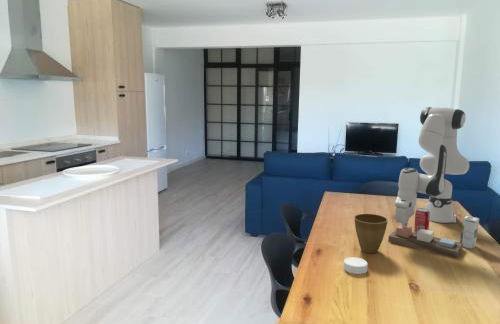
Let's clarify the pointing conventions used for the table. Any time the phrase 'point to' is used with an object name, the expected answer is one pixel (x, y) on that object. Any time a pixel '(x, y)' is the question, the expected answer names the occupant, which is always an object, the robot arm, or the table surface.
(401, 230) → the terracotta key
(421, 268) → the table surface
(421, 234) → the white key
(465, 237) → the syrup box
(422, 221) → the soda can
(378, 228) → the plant pot
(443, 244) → the blue-grey key
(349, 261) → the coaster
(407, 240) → the key panel
